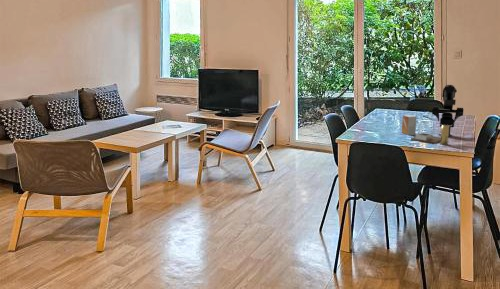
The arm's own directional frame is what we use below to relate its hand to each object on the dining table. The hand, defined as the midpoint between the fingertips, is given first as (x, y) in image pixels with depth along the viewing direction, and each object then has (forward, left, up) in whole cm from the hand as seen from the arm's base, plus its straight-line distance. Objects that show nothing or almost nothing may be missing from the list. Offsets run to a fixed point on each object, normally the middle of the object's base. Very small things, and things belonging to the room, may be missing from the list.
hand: (446, 121), depth 291 cm
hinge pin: (+7, +3, -13) cm, 15 cm away
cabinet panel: (+3, -10, -13) cm, 17 cm away
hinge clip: (+7, -11, -12) cm, 18 cm away
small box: (-6, -31, -13) cm, 34 cm away
